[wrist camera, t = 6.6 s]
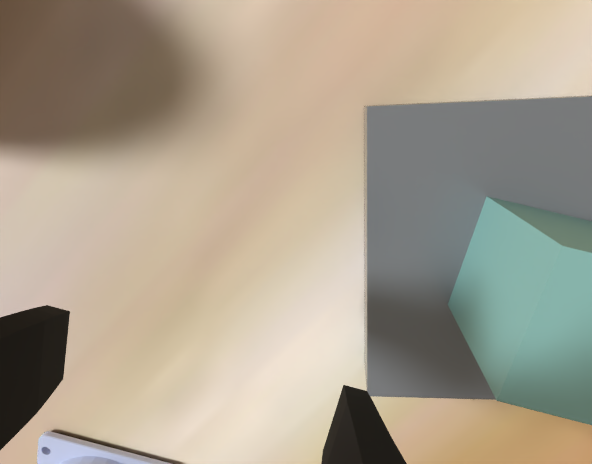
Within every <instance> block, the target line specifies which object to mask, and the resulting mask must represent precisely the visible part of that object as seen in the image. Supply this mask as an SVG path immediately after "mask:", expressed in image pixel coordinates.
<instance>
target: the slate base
mask: <svg viewBox="0 0 592 464" xmlns="http://www.w3.org/2000/svg"><path fill="white" fill-rule="evenodd" d="M487 196H488V197H492V198H496V199H501V200H505V201H509V202H513V203H517V204H521V205H526V206H530V207H534V208H538V209H542V210H546V211H550V212H555V213H559V214H563V215H567V216H571V217H575V218H580V219H584V220H588V221H592V96H573V97H551V98H528V99H506V100H484V101H462V102H439V103H417V104H395V105H372V106H364V256H365V373H366V386H367V392H368V393H369V395H370V396H382V397H419V398H457V399H494V400H496V398H495V396H494V394H493V393H492V391H491V389H490V387H489V385H488V383H487V381H486V379H485V377H484V375H483V373H482V371H481V369H480V367H479V365H478V363H477V361H476V359H475V357H474V355H473V353H472V351H471V349H470V347H469V345H468V343H467V342H466V340H465V338H464V336H463V334H462V332H461V330H460V328H459V326H458V324H457V322H456V320H455V318H454V316H453V314H452V312H451V310H450V308H449V306H448V302H449V300H450V297H451V294H452V291H453V289H454V286H455V283H456V280H457V277H458V275H459V272H460V269H461V266H462V263H463V261H464V258H465V255H466V252H467V250H468V247H469V244H470V241H471V238H472V236H473V233H474V230H475V227H476V224H477V222H478V219H479V216H480V213H481V211H482V208H483V205H484V202H485V199H486V197H487Z"/></svg>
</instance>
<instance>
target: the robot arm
mask: <svg viewBox="0 0 592 464" xmlns="http://www.w3.org/2000/svg"><path fill="white" fill-rule="evenodd" d="M69 314H70V311H66V310H63V309H59V308H55V307H51V306H48V305H47V306H42V307H37V308H33V309H29V310H25V311H21V312H18V313H14V314H11V315H7V316H4V317H1V318H0V450H1V449H2V448H3V447H4V446H5V445H6V444H7V443H8V442H9V441H10V440H11V439H12V438H13V437H14V436H15V435H16V434H17V433H18V432H19V431H20V430H21V429H22V428H23V427H24V426H25V425H26V424H27V423H28V422H29V421H30V420H31V419H32V417H33V416H34V415H35V414H36V413H37V412H38V411H39V410H40V408H41V407H42V406H43V405H44V403H45V402H46V401H47V400H48V398H49V397H50V396H51V394H52V393H53V392H54V390H55V389H56V388H57V386H58V385H59V384H60V382H61V381H62V380H63V374H64V364H65V354H66V344H67V334H68V324H69ZM37 464H171V463H167V462H164V461H160V460H156V459H152V458H149V457H145V456H141V455H137V454H134V453H130V452H126V451H122V450H118V449H115V448H111V447H107V446H103V445H100V444H96V443H92V442H88V441H85V440H81V439H77V438H73V437H69V436H66V435H62V434H58V433H54V432H49V431H47V432H44V433H43V434H42V435H41V437H40V438H39V440H38V455H37ZM322 464H406V462H405V460H404V459H403V457H402V455H401V453H400V452H399V450H398V448H397V446H396V445H395V443H394V441H393V439H392V437H391V436H390V434H389V432H388V430H387V428H386V426H385V424H384V422H383V421H382V419H381V417H380V415H379V413H378V411H377V409H376V407H375V405H374V403H373V401H372V399H371V397H370V395H369V393H368V392H367V391H364V390H360V389H357V388H353V387H349V386H345V385H344V386H343V389H342V392H341V395H340V398H339V402H338V405H337V408H336V411H335V414H334V417H333V421H332V424H331V427H330V430H329V433H328V437H327V440H326V443H325V446H324V449H323V456H322Z"/></svg>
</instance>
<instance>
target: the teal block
mask: <svg viewBox="0 0 592 464" xmlns="http://www.w3.org/2000/svg"><path fill="white" fill-rule="evenodd" d="M448 306H449V308H450V310H451V312H452V314H453V316H454V318H455V320H456V322H457V324H458V326H459V328H460V330H461V332H462V334H463V336H464V338H465V340H466V342H467V343H468V345H469V347H470V349H471V351H472V353H473V355H474V357H475V359H476V361H477V363H478V365H479V367H480V369H481V371H482V373H483V375H484V377H485V379H486V381H487V383H488V385H489V387H490V389H491V391H492V393H493V394H494V396H495V398H496V400H497V401H500V402H504V403H508V404H512V405H516V406H520V407H523V408H527V409H531V410H535V411H539V412H543V413H547V414H551V415H555V416H558V417H562V418H566V419H570V420H574V421H578V422H582V423H586V424H590V425H592V221H588V220H584V219H580V218H575V217H571V216H567V215H563V214H559V213H555V212H550V211H546V210H542V209H538V208H534V207H530V206H526V205H521V204H517V203H513V202H509V201H505V200H501V199H496V198H492V197H488V196H487V197H486V199H485V202H484V205H483V208H482V211H481V213H480V216H479V219H478V222H477V224H476V227H475V230H474V233H473V236H472V238H471V241H470V244H469V247H468V250H467V252H466V255H465V258H464V261H463V263H462V266H461V269H460V272H459V275H458V277H457V280H456V283H455V286H454V289H453V291H452V294H451V297H450V300H449V302H448Z"/></svg>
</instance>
